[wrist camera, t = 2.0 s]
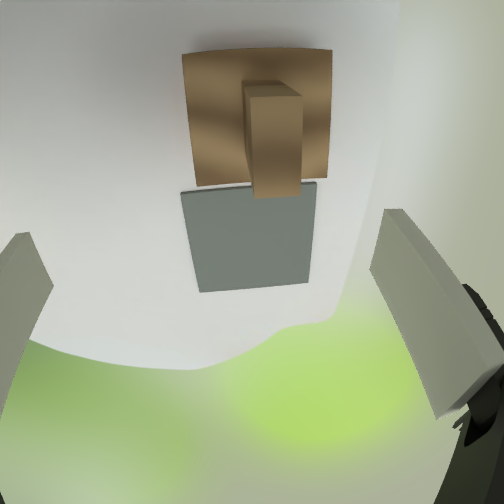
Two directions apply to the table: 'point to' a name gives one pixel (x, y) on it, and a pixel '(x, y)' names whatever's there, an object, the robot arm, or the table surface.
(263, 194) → the lid
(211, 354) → the table surface
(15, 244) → the robot arm
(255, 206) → the mat
